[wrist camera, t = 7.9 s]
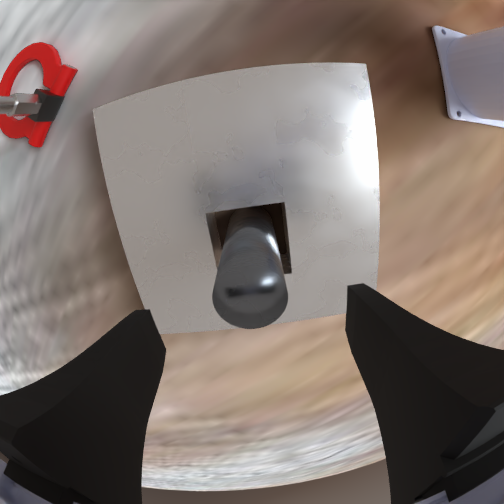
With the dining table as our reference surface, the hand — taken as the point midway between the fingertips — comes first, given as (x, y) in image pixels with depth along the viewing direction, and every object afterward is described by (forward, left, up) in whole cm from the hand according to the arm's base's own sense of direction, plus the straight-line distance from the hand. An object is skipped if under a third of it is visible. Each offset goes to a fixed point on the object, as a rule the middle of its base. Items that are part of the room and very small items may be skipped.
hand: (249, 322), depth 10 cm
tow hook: (+16, -15, -11) cm, 24 cm away
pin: (0, 0, -10) cm, 10 cm away
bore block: (0, -2, -10) cm, 11 cm away
